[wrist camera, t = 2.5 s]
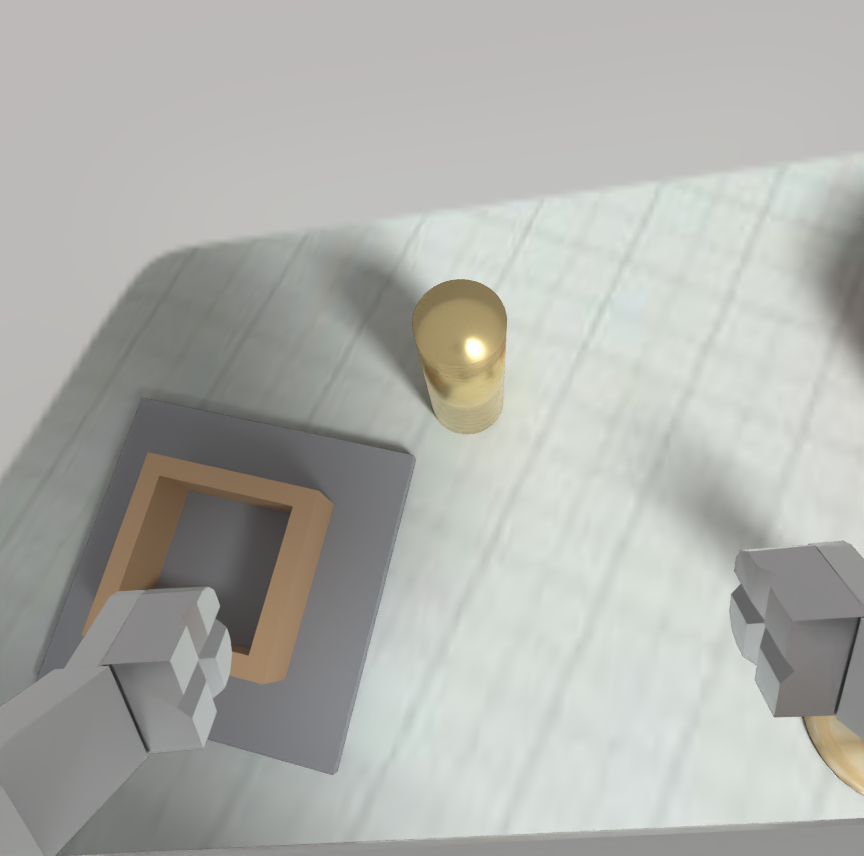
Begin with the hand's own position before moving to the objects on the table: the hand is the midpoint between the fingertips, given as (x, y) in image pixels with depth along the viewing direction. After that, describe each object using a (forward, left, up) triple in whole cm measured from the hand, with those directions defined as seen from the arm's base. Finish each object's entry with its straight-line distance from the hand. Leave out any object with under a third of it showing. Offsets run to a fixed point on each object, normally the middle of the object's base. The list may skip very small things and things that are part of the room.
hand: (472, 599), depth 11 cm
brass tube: (+4, -12, -25) cm, 28 cm away
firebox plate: (+14, 0, -25) cm, 29 cm away
